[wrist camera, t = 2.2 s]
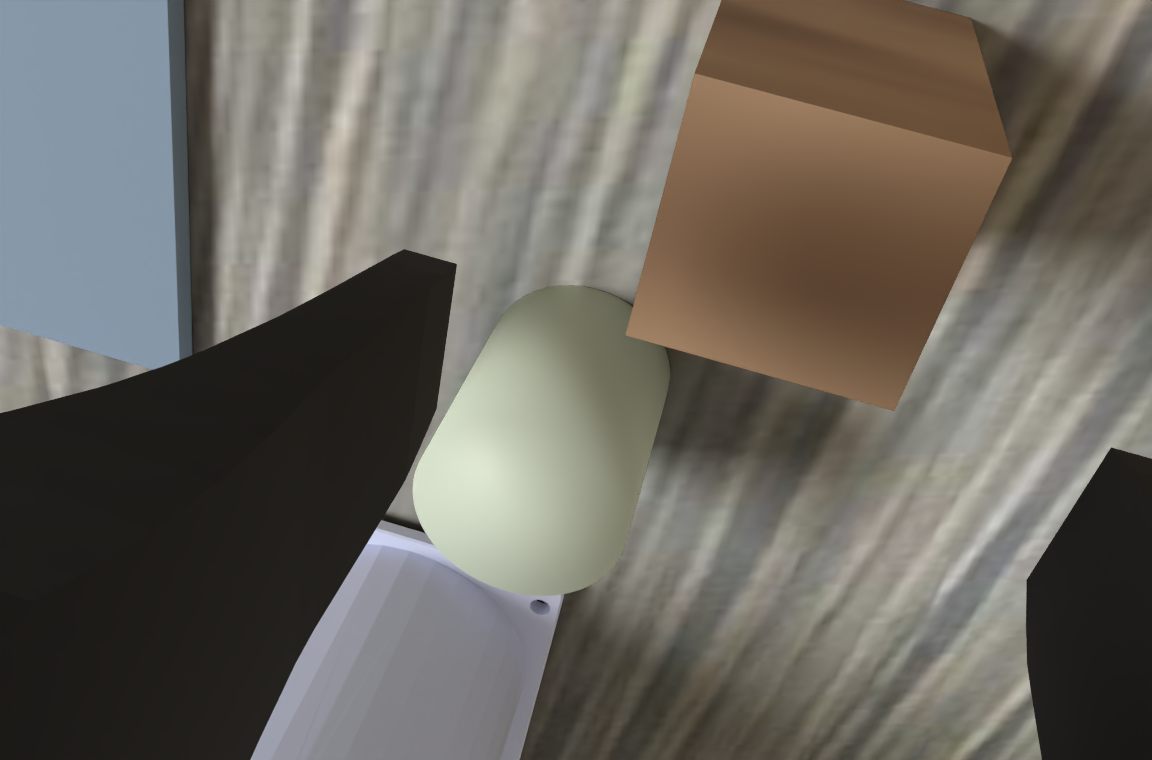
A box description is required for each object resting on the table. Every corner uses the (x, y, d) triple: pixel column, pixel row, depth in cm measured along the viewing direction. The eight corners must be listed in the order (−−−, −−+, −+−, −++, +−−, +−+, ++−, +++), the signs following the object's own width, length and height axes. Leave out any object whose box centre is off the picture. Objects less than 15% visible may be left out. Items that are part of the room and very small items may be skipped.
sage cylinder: (648, 462, 25) (604, 620, 20) (480, 414, 25) (403, 560, 21) (689, 314, 22) (649, 458, 18) (503, 263, 23) (423, 394, 19)
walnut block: (885, 227, 20) (894, 411, 16) (679, 171, 21) (625, 334, 16) (970, 17, 18) (1012, 158, 13) (737, -43, 18) (694, 73, 13)
